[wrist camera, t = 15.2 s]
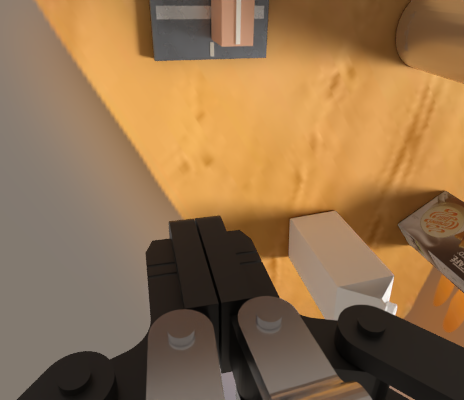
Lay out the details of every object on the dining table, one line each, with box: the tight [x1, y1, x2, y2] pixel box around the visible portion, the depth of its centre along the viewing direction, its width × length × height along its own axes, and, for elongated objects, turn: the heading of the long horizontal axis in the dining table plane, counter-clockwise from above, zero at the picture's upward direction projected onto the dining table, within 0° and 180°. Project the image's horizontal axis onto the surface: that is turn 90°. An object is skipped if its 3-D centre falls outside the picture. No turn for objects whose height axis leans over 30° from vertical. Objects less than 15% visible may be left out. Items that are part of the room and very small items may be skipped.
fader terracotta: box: [211, 0, 255, 47], centre depth 37 cm, size 3×5×5 cm, turn 179°
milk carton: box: [289, 211, 397, 320], centre depth 51 cm, size 7×7×19 cm
